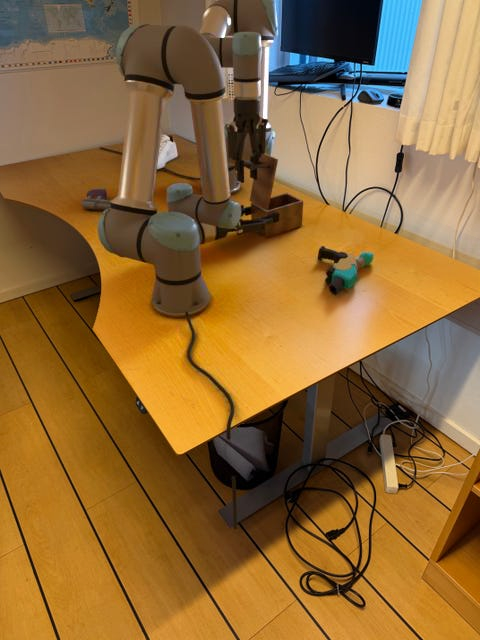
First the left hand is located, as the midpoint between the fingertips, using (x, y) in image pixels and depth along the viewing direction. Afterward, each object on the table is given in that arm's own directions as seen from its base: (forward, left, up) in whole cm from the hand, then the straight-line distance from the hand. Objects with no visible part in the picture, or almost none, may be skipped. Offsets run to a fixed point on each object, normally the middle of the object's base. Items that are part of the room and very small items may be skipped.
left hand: (269, 212), depth 157 cm
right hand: (-6, +7, +13) cm, 16 cm away
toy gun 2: (-29, -20, -6) cm, 36 cm away
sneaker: (+66, +52, -6) cm, 85 cm away
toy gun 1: (+18, +61, -6) cm, 64 cm away
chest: (+2, -2, -6) cm, 7 cm away
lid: (-1, +2, +11) cm, 11 cm away
